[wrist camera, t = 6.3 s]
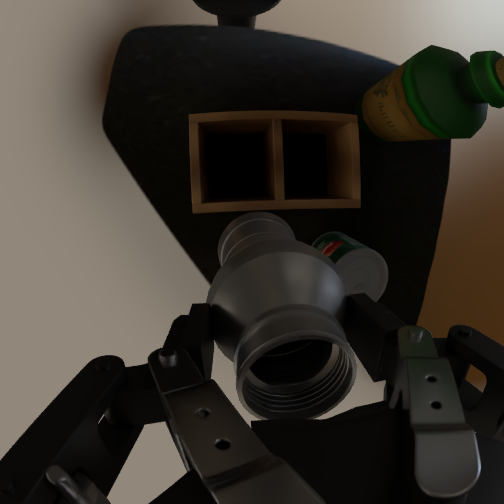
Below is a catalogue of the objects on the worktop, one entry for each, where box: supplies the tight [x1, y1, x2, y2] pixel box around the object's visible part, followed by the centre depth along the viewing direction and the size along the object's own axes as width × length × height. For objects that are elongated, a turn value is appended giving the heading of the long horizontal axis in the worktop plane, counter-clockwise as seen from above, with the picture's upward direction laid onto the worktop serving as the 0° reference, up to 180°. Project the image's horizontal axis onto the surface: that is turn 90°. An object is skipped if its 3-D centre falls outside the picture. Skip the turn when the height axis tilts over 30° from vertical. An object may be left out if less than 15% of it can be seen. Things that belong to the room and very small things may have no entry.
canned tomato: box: [312, 232, 388, 302], centre depth 38 cm, size 8×8×11 cm
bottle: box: [354, 45, 504, 143], centre depth 25 cm, size 11×11×28 cm
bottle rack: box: [189, 111, 361, 213], centre depth 35 cm, size 11×19×10 cm, turn 92°
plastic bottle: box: [206, 212, 357, 420], centre depth 18 cm, size 6×7×20 cm
